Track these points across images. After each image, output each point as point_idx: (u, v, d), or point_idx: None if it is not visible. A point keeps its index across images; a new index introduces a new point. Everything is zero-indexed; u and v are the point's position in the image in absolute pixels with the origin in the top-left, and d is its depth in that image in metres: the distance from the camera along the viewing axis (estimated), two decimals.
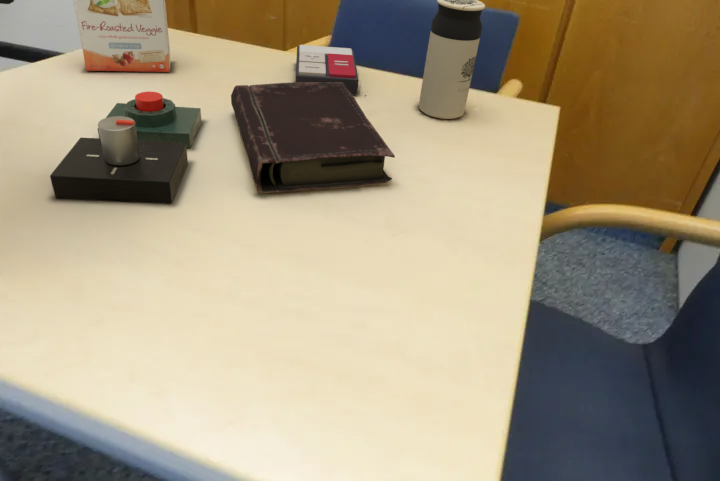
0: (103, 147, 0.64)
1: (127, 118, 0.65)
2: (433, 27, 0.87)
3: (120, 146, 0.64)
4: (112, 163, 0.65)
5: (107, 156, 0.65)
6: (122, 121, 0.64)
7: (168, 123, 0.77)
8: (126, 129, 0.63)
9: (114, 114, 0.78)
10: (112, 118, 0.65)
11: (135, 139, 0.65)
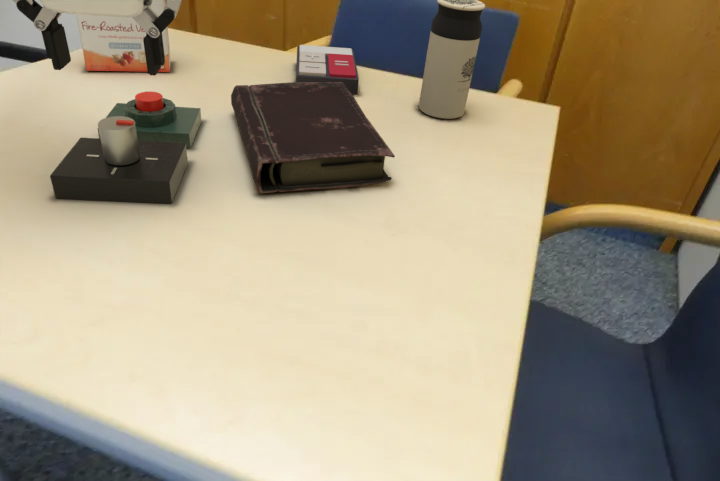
0: (103, 147, 0.64)
1: (127, 118, 0.65)
2: (433, 27, 0.87)
3: (120, 146, 0.64)
4: (112, 163, 0.65)
5: (107, 156, 0.65)
6: (122, 121, 0.64)
7: (168, 123, 0.77)
8: (126, 129, 0.63)
9: (114, 114, 0.78)
10: (112, 118, 0.65)
11: (135, 139, 0.65)
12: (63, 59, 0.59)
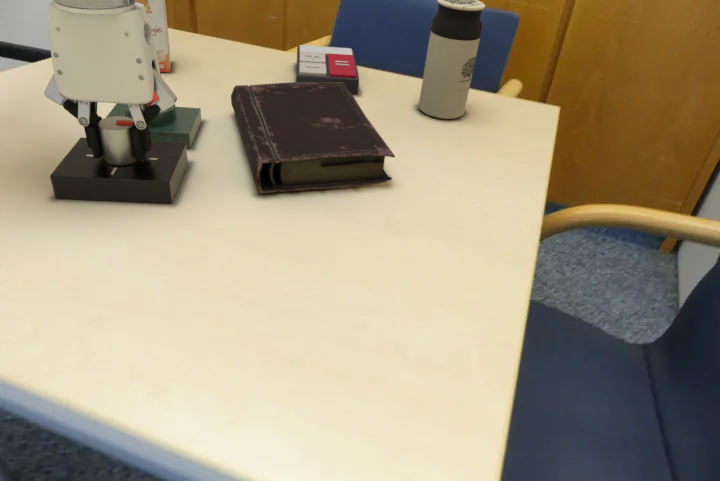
0: (103, 147, 0.64)
1: (127, 118, 0.65)
2: (433, 27, 0.87)
3: (120, 146, 0.64)
4: (112, 163, 0.65)
5: (107, 156, 0.65)
6: (122, 121, 0.64)
7: (168, 123, 0.77)
8: (126, 129, 0.63)
9: (114, 114, 0.78)
10: (112, 118, 0.65)
11: None
12: None
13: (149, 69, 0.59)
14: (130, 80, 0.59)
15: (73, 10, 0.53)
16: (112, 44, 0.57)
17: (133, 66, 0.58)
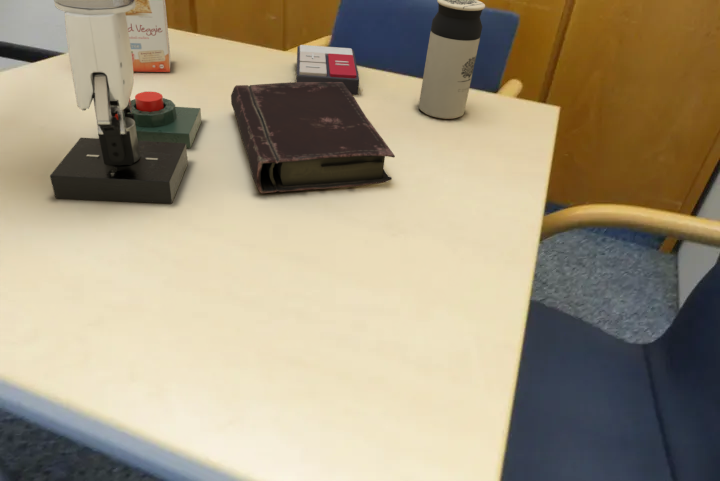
0: None
1: None
2: (433, 27, 0.87)
3: None
4: (138, 158, 0.66)
5: (135, 154, 0.66)
6: None
7: (168, 123, 0.77)
8: (130, 118, 0.66)
9: None
10: None
11: None
12: None
13: None
14: (132, 62, 0.63)
15: (132, 6, 0.57)
16: None
17: (130, 47, 0.63)
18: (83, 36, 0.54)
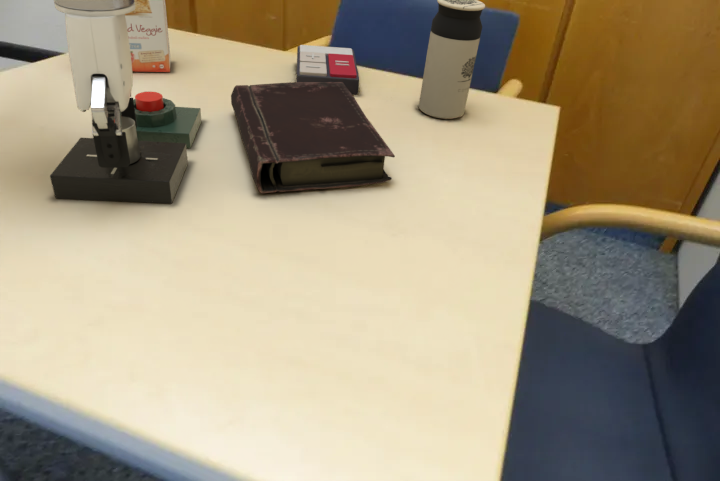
0: (130, 148, 0.65)
1: None
2: (433, 27, 0.87)
3: None
4: (138, 158, 0.66)
5: (134, 154, 0.66)
6: None
7: (168, 123, 0.77)
8: (130, 118, 0.66)
9: None
10: None
11: None
12: None
13: None
14: (131, 63, 0.64)
15: (132, 8, 0.57)
16: (127, 33, 0.60)
17: None
18: (84, 38, 0.54)
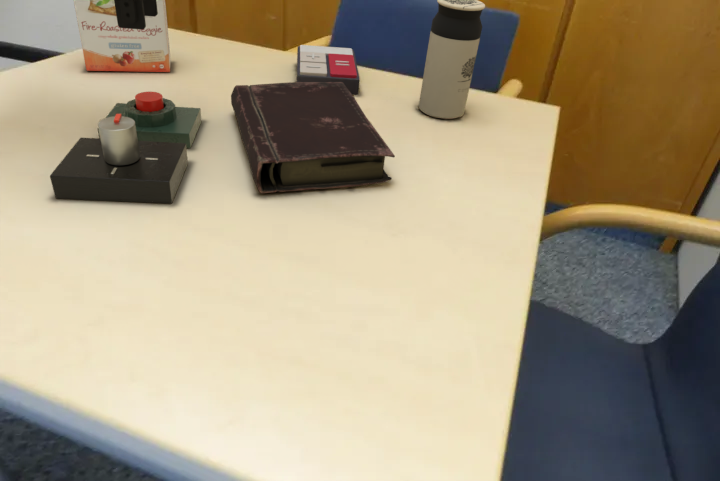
0: (130, 148, 0.65)
1: (104, 119, 0.64)
2: (433, 27, 0.87)
3: None
4: (138, 158, 0.66)
5: (134, 154, 0.66)
6: (118, 118, 0.64)
7: (168, 123, 0.77)
8: (130, 118, 0.66)
9: (114, 114, 0.78)
10: (104, 125, 0.63)
11: None
12: None
13: None
14: None
15: None
16: None
17: None
18: None
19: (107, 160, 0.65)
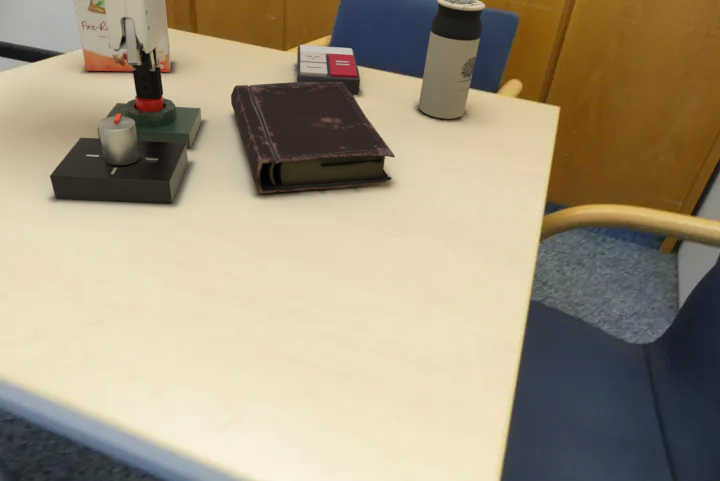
0: (130, 148, 0.65)
1: (104, 119, 0.64)
2: (433, 27, 0.87)
3: None
4: (138, 158, 0.66)
5: (134, 154, 0.66)
6: (118, 118, 0.64)
7: (168, 123, 0.77)
8: (130, 118, 0.66)
9: (114, 114, 0.78)
10: (104, 125, 0.63)
11: None
12: None
13: None
14: (163, 15, 0.73)
15: None
16: None
17: (162, 3, 0.73)
18: None
19: (107, 160, 0.65)
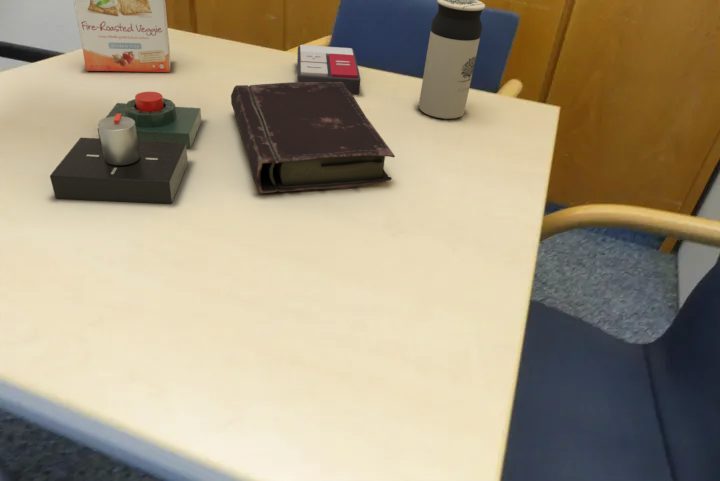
0: (130, 148, 0.65)
1: (104, 119, 0.64)
2: (433, 27, 0.87)
3: None
4: (138, 158, 0.66)
5: (134, 154, 0.66)
6: (118, 118, 0.64)
7: (168, 123, 0.77)
8: (130, 118, 0.66)
9: (114, 114, 0.78)
10: (104, 125, 0.63)
11: None
12: None
13: None
14: None
15: None
16: None
17: None
18: None
19: (107, 160, 0.65)
